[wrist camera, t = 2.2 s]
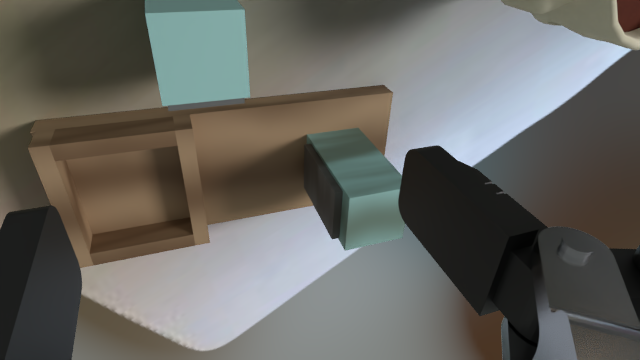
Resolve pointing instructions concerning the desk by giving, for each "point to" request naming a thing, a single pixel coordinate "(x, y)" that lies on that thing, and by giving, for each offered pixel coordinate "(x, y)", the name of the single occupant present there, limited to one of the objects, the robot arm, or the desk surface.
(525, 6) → the character mug
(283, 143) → the wooden tray with block
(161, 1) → the teal rectangular prism
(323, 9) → the desk surface
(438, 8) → the desk surface
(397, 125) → the desk surface
